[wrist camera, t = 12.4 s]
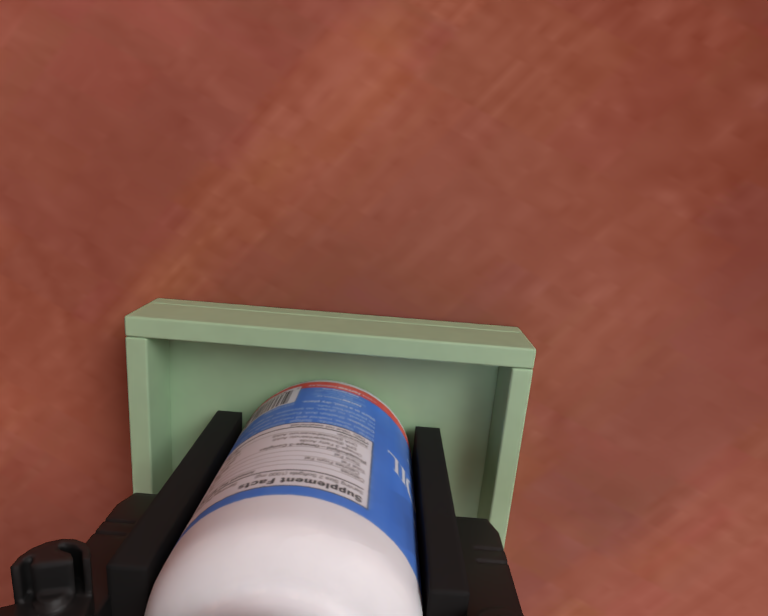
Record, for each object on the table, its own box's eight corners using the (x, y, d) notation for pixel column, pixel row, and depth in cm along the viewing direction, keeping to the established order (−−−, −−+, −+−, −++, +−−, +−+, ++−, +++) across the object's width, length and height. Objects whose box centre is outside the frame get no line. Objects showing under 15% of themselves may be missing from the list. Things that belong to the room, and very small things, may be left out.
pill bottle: (402, 532, 17) (415, 966, 8) (241, 518, 17) (60, 937, 8) (420, 380, 16) (462, 687, 6) (245, 364, 16) (30, 650, 6)
